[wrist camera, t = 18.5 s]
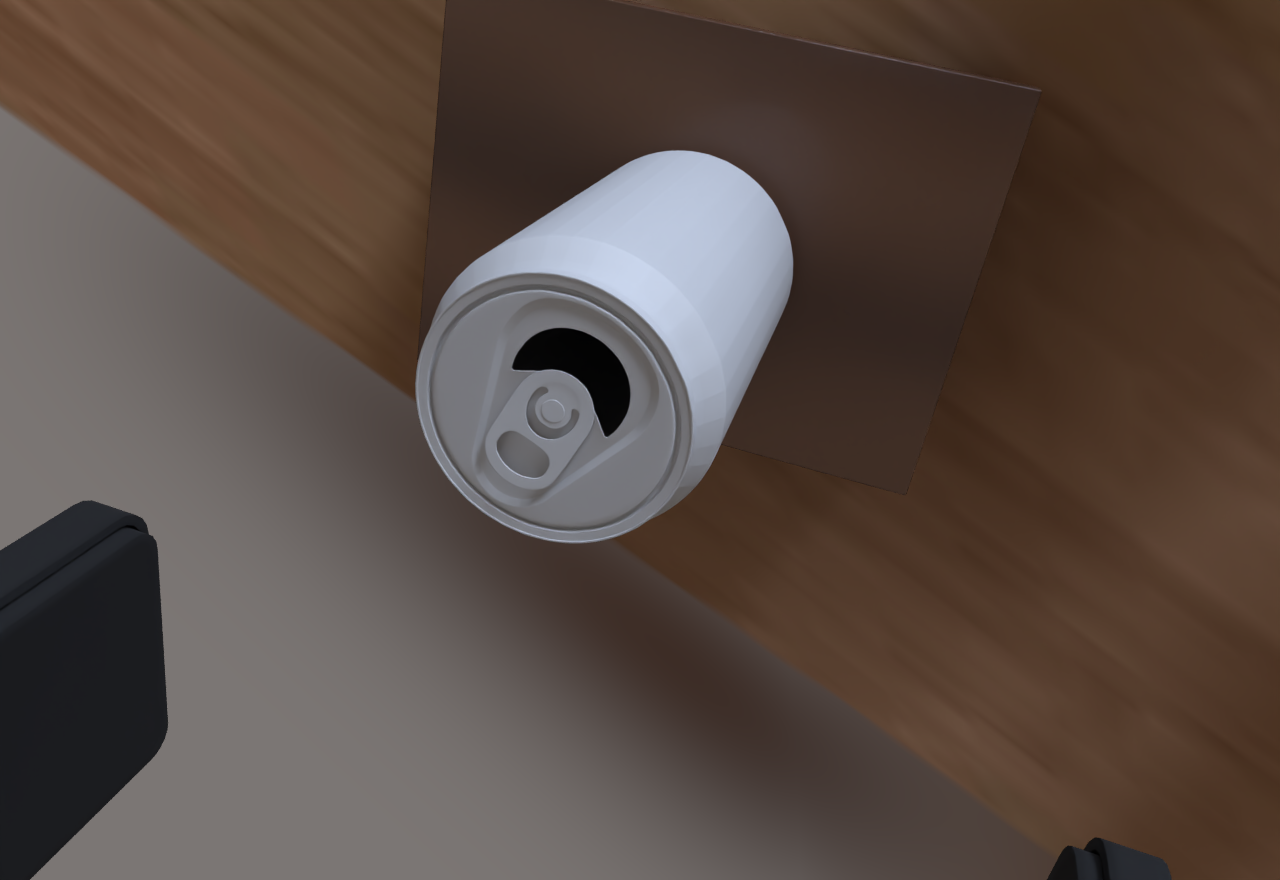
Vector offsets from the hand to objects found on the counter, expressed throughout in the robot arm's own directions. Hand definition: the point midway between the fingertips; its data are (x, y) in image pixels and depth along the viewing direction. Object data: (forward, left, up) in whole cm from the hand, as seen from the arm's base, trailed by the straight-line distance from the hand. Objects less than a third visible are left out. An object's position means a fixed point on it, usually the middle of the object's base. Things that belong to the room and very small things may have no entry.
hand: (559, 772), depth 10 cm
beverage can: (+1, -3, -22) cm, 22 cm away
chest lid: (+1, -3, -22) cm, 23 cm away
